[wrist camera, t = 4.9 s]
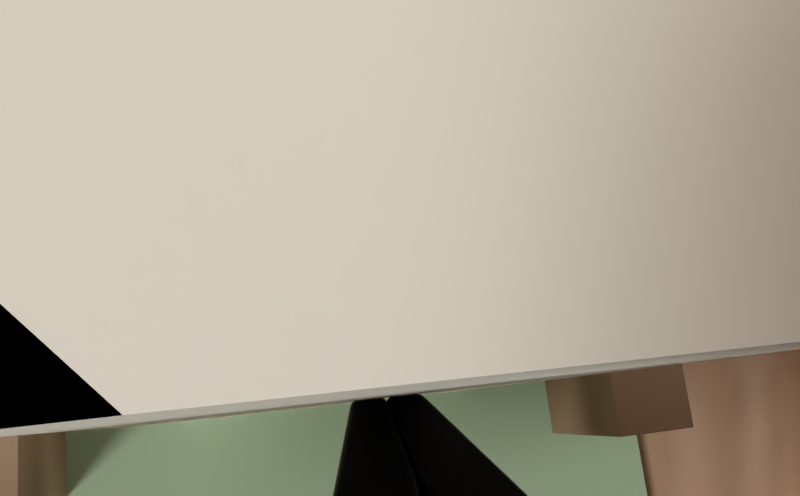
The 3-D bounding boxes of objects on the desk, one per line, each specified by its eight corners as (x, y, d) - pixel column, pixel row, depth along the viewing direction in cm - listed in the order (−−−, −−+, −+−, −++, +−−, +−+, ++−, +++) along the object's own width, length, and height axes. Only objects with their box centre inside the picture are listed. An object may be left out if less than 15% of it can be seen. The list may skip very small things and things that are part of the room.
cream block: (463, 390, 15) (1320, 284, 3) (177, 422, 14) (-309, 464, 2) (421, 55, 17) (871, -877, 5) (161, 55, 16) (-144, -1243, 3)
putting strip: (705, 897, 15) (720, 913, 14) (-50, 1130, 11) (-63, 1160, 11) (537, -78, 19) (544, -91, 19) (-30, -104, 16) (-38, -120, 16)
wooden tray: (613, 425, 16) (693, 426, 13) (-22, 509, 13) (-96, 534, 10) (534, -45, 19) (586, -128, 16) (-15, -63, 16) (-73, -170, 13)
